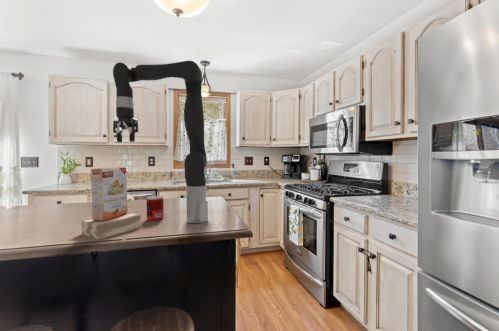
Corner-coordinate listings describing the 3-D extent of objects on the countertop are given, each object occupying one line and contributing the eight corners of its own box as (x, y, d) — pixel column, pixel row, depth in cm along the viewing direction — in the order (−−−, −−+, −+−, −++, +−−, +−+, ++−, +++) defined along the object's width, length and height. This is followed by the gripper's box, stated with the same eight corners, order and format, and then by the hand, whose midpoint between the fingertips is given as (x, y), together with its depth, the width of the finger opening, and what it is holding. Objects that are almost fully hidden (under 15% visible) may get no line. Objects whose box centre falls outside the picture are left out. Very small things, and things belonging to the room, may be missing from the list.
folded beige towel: (140, 228, 110) (140, 215, 110) (98, 240, 94) (97, 224, 94) (124, 224, 116) (123, 211, 116) (82, 235, 101) (81, 220, 100)
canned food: (166, 217, 128) (165, 195, 128) (159, 221, 120) (158, 198, 120) (151, 216, 129) (151, 195, 128) (143, 220, 121) (143, 198, 121)
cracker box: (105, 221, 98) (102, 168, 97) (91, 221, 99) (89, 168, 99) (128, 213, 112) (126, 166, 111) (117, 213, 113) (115, 167, 112)
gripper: (142, 107, 119) (142, 142, 119) (121, 110, 125) (122, 142, 126) (128, 104, 112) (129, 141, 113) (107, 107, 118) (108, 141, 119)
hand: (125, 141), depth 119 cm, fingers open, 8 cm apart
